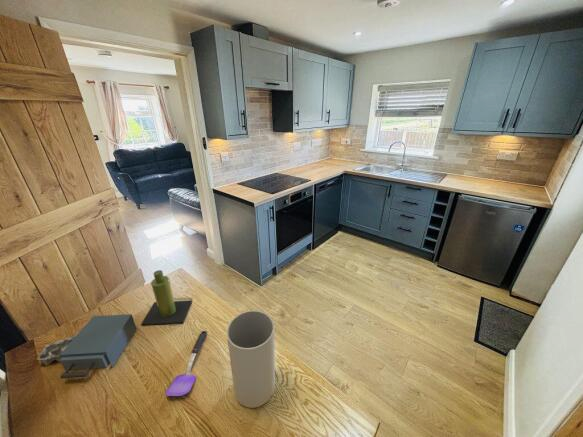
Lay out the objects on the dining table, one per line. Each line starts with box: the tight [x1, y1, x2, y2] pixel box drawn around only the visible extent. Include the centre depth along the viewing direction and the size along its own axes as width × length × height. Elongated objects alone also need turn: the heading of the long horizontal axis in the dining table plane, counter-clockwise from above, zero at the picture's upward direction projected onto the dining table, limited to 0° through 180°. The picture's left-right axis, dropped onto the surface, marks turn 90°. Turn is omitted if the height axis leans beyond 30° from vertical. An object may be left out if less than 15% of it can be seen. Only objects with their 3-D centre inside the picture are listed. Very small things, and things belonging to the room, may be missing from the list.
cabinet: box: [60, 313, 137, 369], centre depth 83 cm, size 16×14×8 cm
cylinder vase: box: [226, 310, 276, 409], centre depth 69 cm, size 12×12×25 cm
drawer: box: [59, 354, 110, 379], centre depth 80 cm, size 19×12×6 cm, turn 5°
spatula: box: [164, 330, 208, 397], centre depth 80 cm, size 24×7×2 cm, turn 178°
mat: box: [140, 300, 193, 327], centre depth 99 cm, size 16×12×1 cm
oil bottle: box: [150, 269, 176, 317], centre depth 95 cm, size 6×6×20 cm
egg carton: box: [35, 333, 78, 366], centre depth 82 cm, size 11×8×4 cm
